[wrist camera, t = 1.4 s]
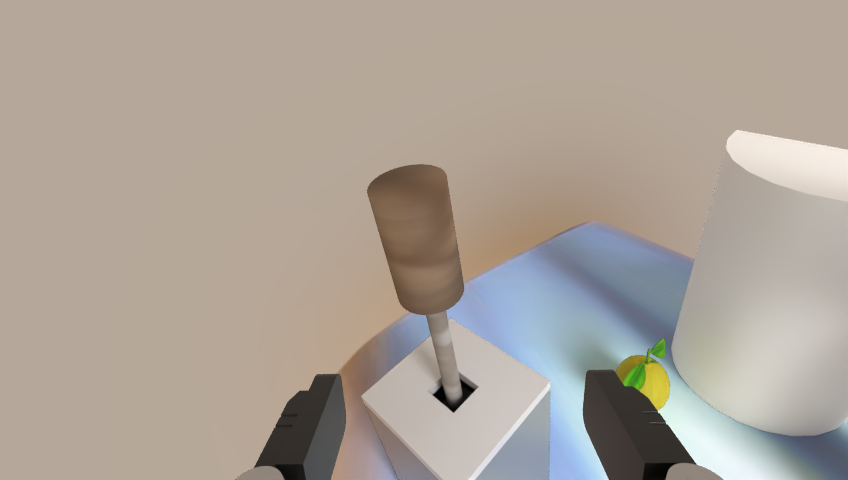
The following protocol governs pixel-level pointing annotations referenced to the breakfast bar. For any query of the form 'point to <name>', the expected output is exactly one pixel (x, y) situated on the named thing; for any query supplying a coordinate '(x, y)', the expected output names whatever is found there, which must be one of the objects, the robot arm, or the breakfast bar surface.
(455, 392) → the plunger
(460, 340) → the grey upright block
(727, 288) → the white stepped oval block
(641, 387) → the lemon
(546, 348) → the breakfast bar surface
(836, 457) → the breakfast bar surface
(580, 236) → the breakfast bar surface
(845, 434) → the breakfast bar surface
